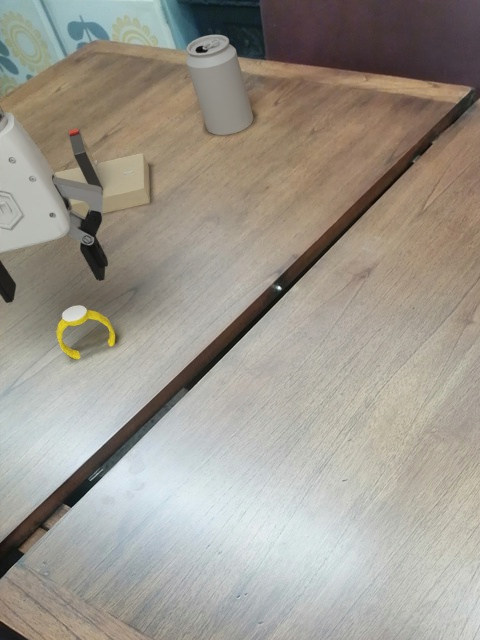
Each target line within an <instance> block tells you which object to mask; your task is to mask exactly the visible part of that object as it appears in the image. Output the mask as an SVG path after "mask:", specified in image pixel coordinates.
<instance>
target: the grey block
mask: <svg viewBox="0 0 480 640" xmlns="http://www.w3.org/2000/svg"><path fill="white" fill-rule="evenodd" d="M67 135H68V137H69V142H70V146H71V149H72V152H73V153H72V154H73V157H74V159H75V161H76V162H77V165H78V167H80V169H81V171H82V173H83V175H84V177H85V179H86V181H87V183H88V184H91V185H96V186H99V187H101V188H102V189H103V186H102V183H101V179H100V176H99V172H98V169H97V166H96V164H95V160H94V158H93V155H92V153H91V151H90V148H89V147H88V145H87V142H86V140H85V138H84V136H83V134H82V132H81V129H79V128H78V127H76V128H73V129H69V130H68V132H67Z"/></svg>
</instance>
